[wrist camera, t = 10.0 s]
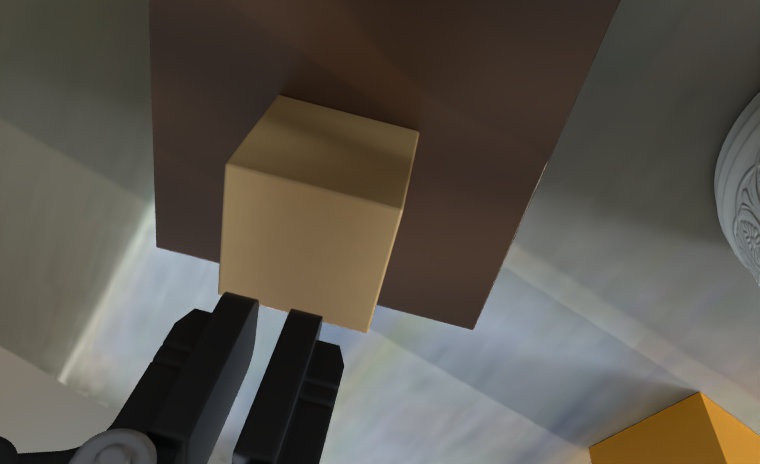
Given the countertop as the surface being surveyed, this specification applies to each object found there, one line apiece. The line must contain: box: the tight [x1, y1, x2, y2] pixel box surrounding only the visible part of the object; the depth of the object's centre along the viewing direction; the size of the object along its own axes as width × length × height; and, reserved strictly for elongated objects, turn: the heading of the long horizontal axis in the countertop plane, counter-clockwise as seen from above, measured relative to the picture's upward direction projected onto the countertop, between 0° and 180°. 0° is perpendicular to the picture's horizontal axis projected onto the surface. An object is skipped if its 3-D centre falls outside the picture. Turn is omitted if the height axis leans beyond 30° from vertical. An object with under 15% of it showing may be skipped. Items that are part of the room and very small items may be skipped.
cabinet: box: [149, 0, 620, 330], centre depth 22 cm, size 15×13×10 cm
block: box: [218, 95, 419, 333], centre depth 17 cm, size 4×4×4 cm
